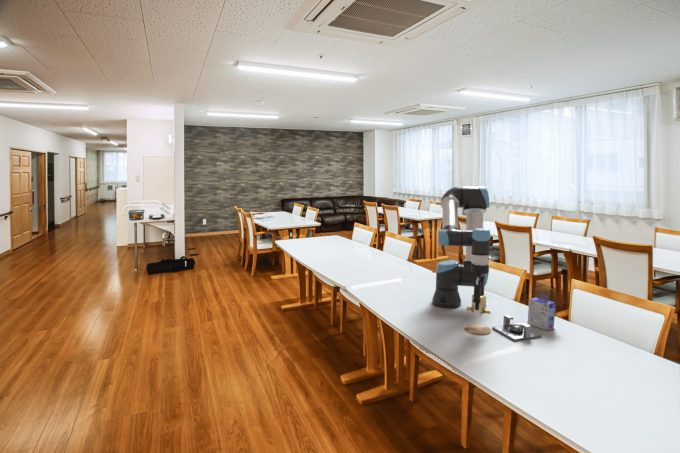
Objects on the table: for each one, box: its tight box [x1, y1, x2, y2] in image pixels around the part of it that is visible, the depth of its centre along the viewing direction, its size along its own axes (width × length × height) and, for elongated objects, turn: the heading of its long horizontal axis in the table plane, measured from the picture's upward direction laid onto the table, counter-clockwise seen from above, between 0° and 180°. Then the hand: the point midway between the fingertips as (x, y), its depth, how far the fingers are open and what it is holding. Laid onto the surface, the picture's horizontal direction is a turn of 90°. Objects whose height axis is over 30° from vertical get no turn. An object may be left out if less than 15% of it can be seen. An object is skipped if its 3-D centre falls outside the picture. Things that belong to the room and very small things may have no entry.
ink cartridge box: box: [526, 293, 556, 331], centre depth 175 cm, size 10×6×14 cm, turn 32°
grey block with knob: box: [491, 314, 543, 342], centre depth 169 cm, size 14×14×6 cm
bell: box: [466, 294, 492, 315], centre depth 171 cm, size 10×6×7 cm, turn 60°
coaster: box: [464, 323, 492, 336], centre depth 173 cm, size 11×11×1 cm
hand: (478, 313), depth 172 cm, fingers closed on bell, 6 cm apart
